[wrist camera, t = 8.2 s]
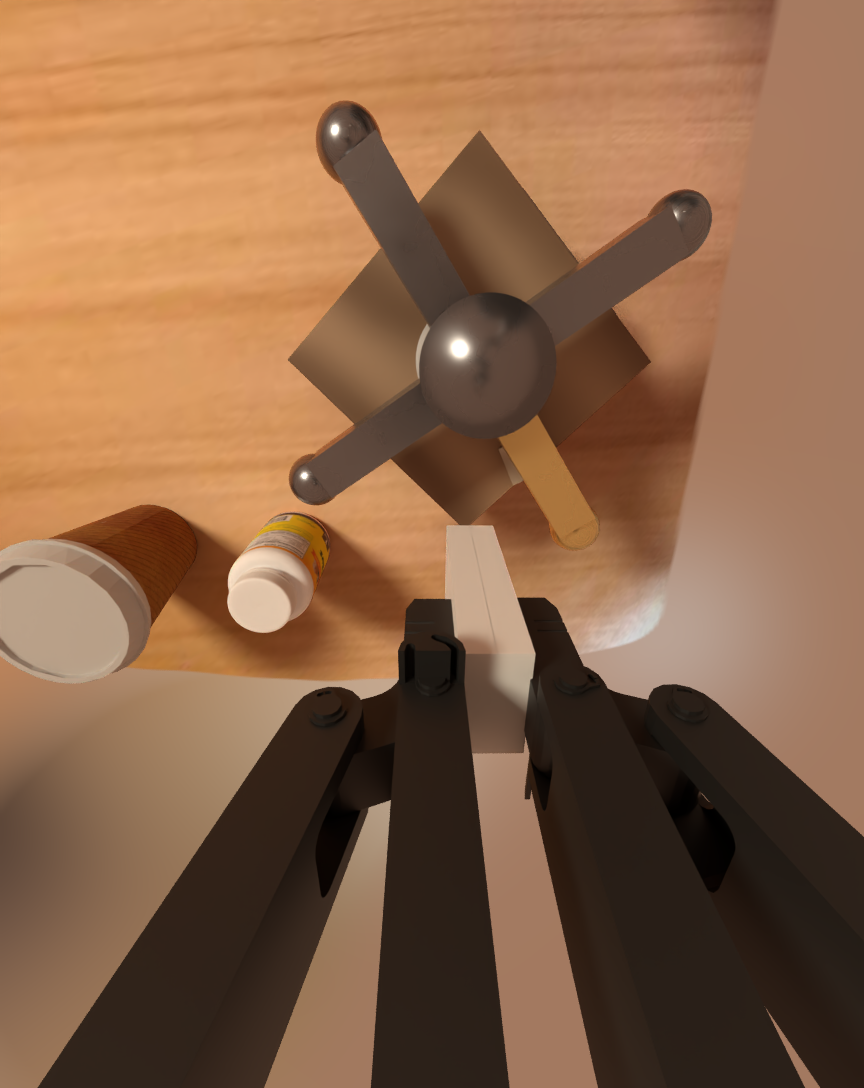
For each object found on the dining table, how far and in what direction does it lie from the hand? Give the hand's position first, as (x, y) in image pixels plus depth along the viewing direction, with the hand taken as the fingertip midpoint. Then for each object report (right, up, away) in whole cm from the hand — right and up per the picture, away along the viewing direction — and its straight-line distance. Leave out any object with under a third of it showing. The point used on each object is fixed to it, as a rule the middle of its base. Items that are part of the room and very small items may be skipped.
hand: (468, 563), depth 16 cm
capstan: (+1, +10, +10) cm, 14 cm away
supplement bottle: (-12, +1, +23) cm, 26 cm away
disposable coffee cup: (-23, +1, +23) cm, 33 cm away
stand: (+1, +14, +17) cm, 22 cm away
